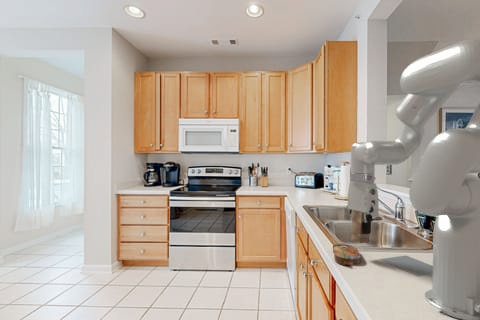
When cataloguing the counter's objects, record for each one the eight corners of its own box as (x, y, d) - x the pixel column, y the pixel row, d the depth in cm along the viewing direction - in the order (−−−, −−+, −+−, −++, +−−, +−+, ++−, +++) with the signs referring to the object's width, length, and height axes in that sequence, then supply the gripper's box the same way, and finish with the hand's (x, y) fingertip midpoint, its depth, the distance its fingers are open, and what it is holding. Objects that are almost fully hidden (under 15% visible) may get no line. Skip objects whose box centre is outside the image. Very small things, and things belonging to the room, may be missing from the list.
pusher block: (369, 242, 93) (371, 201, 93) (359, 243, 92) (362, 201, 92) (360, 239, 97) (363, 199, 97) (351, 239, 96) (353, 199, 96)
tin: (363, 260, 88) (335, 255, 90) (362, 269, 88) (334, 265, 90) (355, 245, 102) (331, 241, 104) (355, 253, 102) (331, 250, 104)
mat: (446, 273, 84) (446, 271, 84) (417, 278, 80) (417, 276, 80) (405, 257, 97) (406, 255, 97) (379, 261, 93) (379, 259, 93)
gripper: (391, 180, 87) (389, 237, 88) (353, 176, 103) (353, 225, 104) (372, 181, 85) (371, 239, 85) (337, 176, 101) (336, 226, 101)
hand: (361, 231), depth 95 cm, fingers closed on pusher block, 4 cm apart
